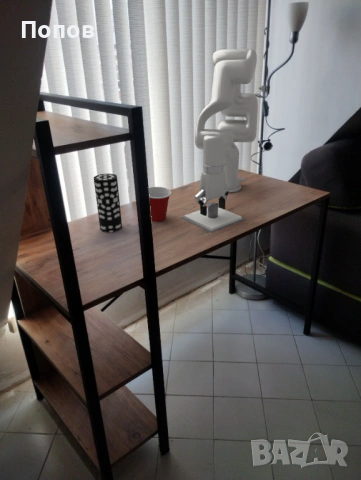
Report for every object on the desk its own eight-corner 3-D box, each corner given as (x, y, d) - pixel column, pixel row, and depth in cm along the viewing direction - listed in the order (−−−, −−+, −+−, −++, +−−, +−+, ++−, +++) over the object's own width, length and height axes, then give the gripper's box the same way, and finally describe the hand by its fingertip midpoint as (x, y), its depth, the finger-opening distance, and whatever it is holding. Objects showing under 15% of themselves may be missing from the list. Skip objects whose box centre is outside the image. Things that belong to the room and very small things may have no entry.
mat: (213, 207, 163) (213, 206, 162) (245, 220, 150) (245, 219, 150) (180, 218, 153) (180, 217, 153) (211, 233, 140) (211, 232, 140)
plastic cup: (160, 227, 146) (158, 197, 140) (139, 221, 152) (137, 192, 146) (178, 218, 153) (177, 189, 148) (157, 212, 159) (155, 184, 154)
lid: (213, 207, 161) (213, 194, 159) (241, 219, 150) (242, 204, 147) (184, 217, 152) (183, 203, 150) (211, 230, 141) (211, 215, 138)
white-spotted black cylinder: (122, 231, 144) (117, 179, 135) (99, 233, 143) (93, 181, 134) (121, 222, 151) (116, 172, 142) (100, 224, 150) (93, 174, 141)
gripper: (223, 162, 150) (222, 203, 157) (188, 171, 140) (189, 214, 148) (237, 166, 144) (235, 208, 152) (202, 175, 135) (202, 220, 142)
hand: (212, 211), depth 150 cm, fingers open, 9 cm apart
